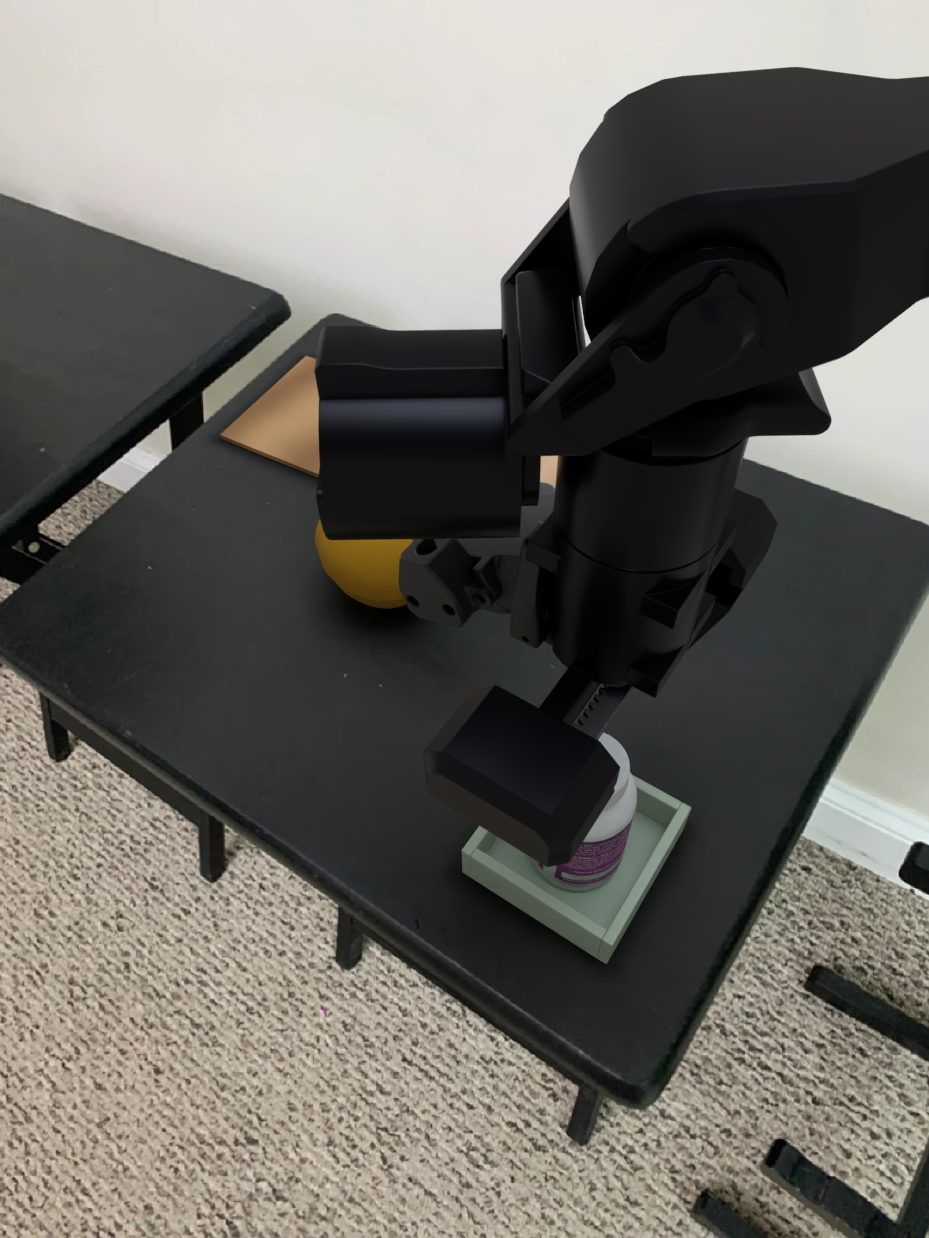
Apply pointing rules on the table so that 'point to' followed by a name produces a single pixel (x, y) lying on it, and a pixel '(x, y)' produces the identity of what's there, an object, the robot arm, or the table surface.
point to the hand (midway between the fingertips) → (595, 746)
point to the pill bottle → (601, 834)
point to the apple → (364, 568)
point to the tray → (590, 913)
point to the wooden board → (300, 424)
